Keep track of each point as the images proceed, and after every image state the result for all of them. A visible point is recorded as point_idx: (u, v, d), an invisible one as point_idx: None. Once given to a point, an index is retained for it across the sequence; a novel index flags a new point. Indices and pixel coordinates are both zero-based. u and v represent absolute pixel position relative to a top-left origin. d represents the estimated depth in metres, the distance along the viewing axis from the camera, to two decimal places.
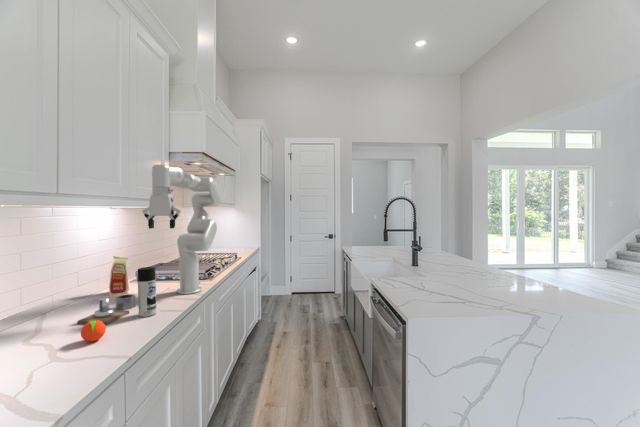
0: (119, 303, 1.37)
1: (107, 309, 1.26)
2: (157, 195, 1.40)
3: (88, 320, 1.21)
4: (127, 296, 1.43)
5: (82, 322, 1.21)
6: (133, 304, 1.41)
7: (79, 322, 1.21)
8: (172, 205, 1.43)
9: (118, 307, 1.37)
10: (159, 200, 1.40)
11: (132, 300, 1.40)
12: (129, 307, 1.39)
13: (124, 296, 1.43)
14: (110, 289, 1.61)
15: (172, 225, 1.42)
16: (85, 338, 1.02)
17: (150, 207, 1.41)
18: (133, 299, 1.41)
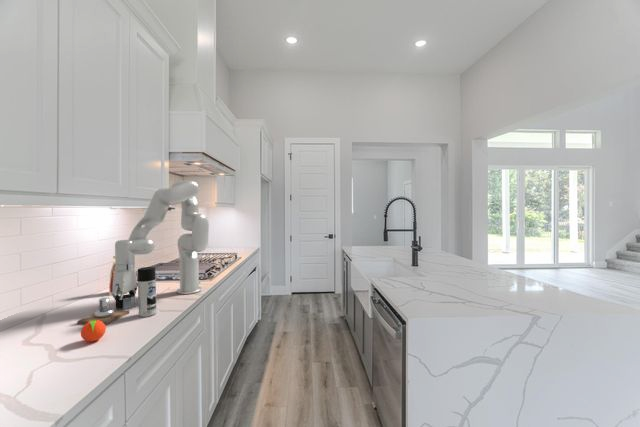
0: None
1: (107, 309, 1.26)
2: (129, 271, 1.40)
3: (88, 320, 1.21)
4: (127, 296, 1.43)
5: (82, 322, 1.21)
6: (133, 304, 1.41)
7: (79, 322, 1.21)
8: None
9: None
10: (131, 276, 1.41)
11: (132, 300, 1.40)
12: (129, 307, 1.39)
13: (124, 296, 1.43)
14: (110, 289, 1.61)
15: None
16: (85, 338, 1.02)
17: (123, 285, 1.36)
18: (133, 299, 1.41)
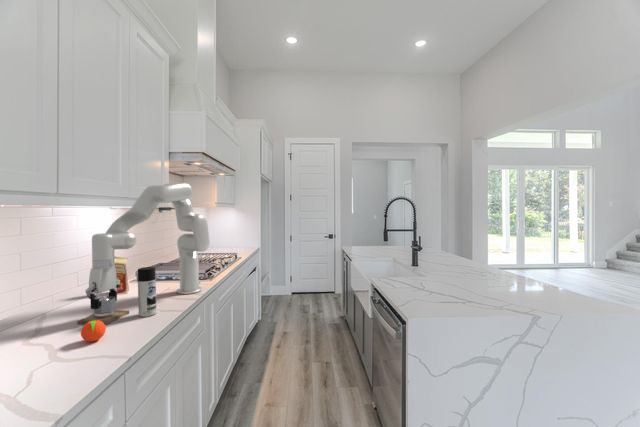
0: None
1: None
2: (108, 268, 1.26)
3: (88, 320, 1.21)
4: None
5: (82, 322, 1.21)
6: (113, 307, 1.27)
7: (79, 322, 1.21)
8: None
9: (96, 310, 1.23)
10: (110, 273, 1.27)
11: (112, 302, 1.26)
12: (108, 310, 1.25)
13: None
14: None
15: (115, 297, 1.32)
16: (85, 338, 1.02)
17: (101, 283, 1.22)
18: (113, 301, 1.27)
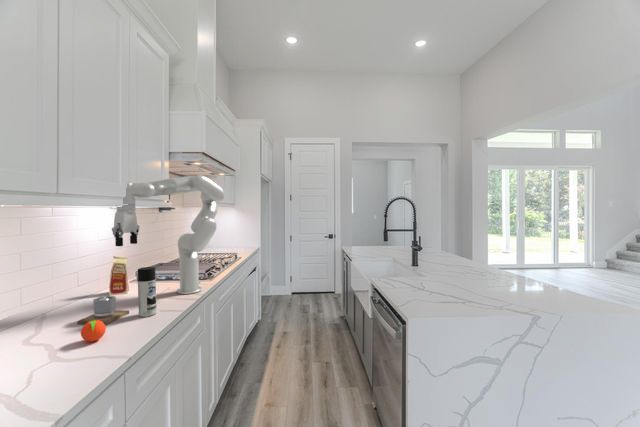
0: (97, 306, 1.23)
1: None
2: (130, 212, 1.43)
3: (88, 320, 1.21)
4: None
5: (82, 322, 1.21)
6: (113, 307, 1.27)
7: (79, 322, 1.21)
8: None
9: (96, 310, 1.23)
10: (131, 217, 1.44)
11: (112, 302, 1.26)
12: (108, 310, 1.25)
13: None
14: (110, 289, 1.61)
15: None
16: (85, 338, 1.02)
17: (124, 224, 1.40)
18: (113, 301, 1.27)
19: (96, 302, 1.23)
